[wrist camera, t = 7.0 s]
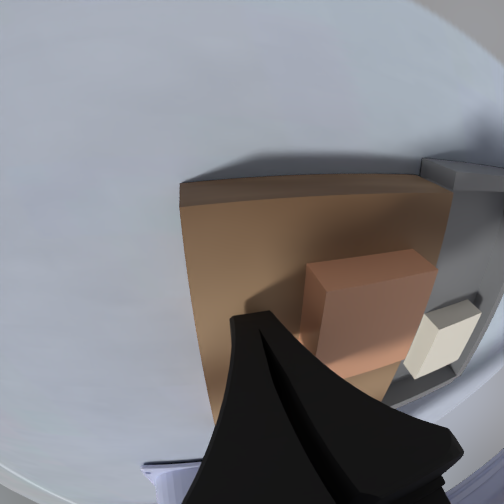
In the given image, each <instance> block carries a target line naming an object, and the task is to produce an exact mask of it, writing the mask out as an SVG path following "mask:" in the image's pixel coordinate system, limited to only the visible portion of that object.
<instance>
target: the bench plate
mask: <svg viewBox="0 0 504 504" xmlns="http://www.w3.org/2000/svg"><path fill="white" fill-rule="evenodd" d="M452 199H453V192H451V191H449V190H447V189H445V188H443V187H441V186H439V185H437V184H435V183H432V182H430V181H428V180H426V179H424V178H422V177H420V176H417V175H410V174H310V175H283V176H264V177H248V178H234V179H221V180H209V181H198V182H188V183H180V201H179V208H180V218H181V226H182V235H183V243H184V251H185V259H186V267H187V274H188V281H189V288H190V295H191V301H192V308H193V314H194V320H195V326H196V332H197V338H198V344H199V349H200V355H201V360H202V365H203V371H204V376H205V381H206V386H207V391H208V396H209V400H210V405H211V410H212V414H213V419H214V423H215V425H216V422H217V419H218V415H219V412H220V408H221V405H222V401H223V397H224V392H225V388H226V382H227V377H228V372H229V365H230V356H231V333H230V321H229V319H230V318H231V317H232V316H234V315H241V314H248V313H255V312H261V311H268V310H270V311H271V312H272V313H273V314H274V315H275V316H276V317H277V318H278V319H279V321H280V322H281V323H282V324H283V325H284V326H285V327H286V328H287V329H288V330H289V331H290V333H291V334H292V335H293V336H294V337H295V338H296V339H297V340H298V341H299V332H300V324H301V315H302V306H303V296H304V286H305V276H306V265H307V263H315V262H322V261H330V260H337V259H344V258H352V257H359V256H366V255H373V254H380V253H387V252H394V251H401V250H408V249H414V250H415V251H416V252H418V253H419V254H420V255H421V256H423V257H424V258H425V259H426V260H427V261H429V262H430V263H431V264H432V265H434V266H435V267H436V264H437V261H438V258H439V254H440V250H441V247H442V243H443V239H444V235H445V231H446V227H447V222H448V218H449V213H450V209H451V204H452ZM400 362H401V361H398V362H395V363H393V364H390V365H387V366H384V367H381V368H378V369H375V370H372V371H368V372H365V373H362V374H359V375H355V376H352V377H348V378H345V379H344V380H346V381H347V382H349V383H350V384H352V385H353V386H355V387H356V388H358V389H359V390H361V391H362V392H364V393H366V394H367V395H369V396H371V397H373V398H374V399H376V400H378V401H380V402H381V401H382V399H383V397H384V396H385V394H386V392H387V390H388V388H389V386H390V383H391V381H392V379H393V377H394V375H395V373H396V371H397V369H398V367H399V364H400Z"/></svg>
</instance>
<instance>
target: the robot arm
mask: <svg viewBox="0 0 504 504" xmlns="http://www.w3.org/2000/svg"><path fill="white" fill-rule="evenodd" d="M229 321H230V333H231V356H230V365H229V372H228V377H227V382H226V388H225V392H224V397H223V401H222V405H221V408H220V412H219V415H218V419H217V422H216V425H215V428H214V431H213V434H212V437H211V440H210V443H209V445H208V448H207V450H206V453H205V455H204V457H203V460H202V462H193V463H181V464H164V465H142V466H141V467H140V470H141V472H142V473H143V474H144V475H145V476H146V477H147V478H148V479H149V480H150V481H151V482H152V484H153V485H154V486H155V487H156V497H157V504H504V448H503V449H502V450H501V451H500V452H499V453H498V454H497V455H495V456H494V457H493V458H492V459H491V460H489V461H488V462H487V463H486V464H484V465H483V466H482V467H481V468H479V469H478V470H477V471H475V472H474V473H473V474H472V475H470V476H469V477H467V478H466V479H465V480H463V481H462V482H460V483H459V484H458V485H456V486H455V487H453V488H452V489H450V490H449V491H447V492H446V493H445V492H444V490H443V488H442V486H443V485H444V484H445V481H444V479H443V477H442V476H441V475H442V474H443V473H444V472H446V471H447V470H448V469H449V468H450V467H452V466H453V465H454V464H455V463H456V462H457V461H458V460H459V459H460V458H461V457H462V456H463V454H464V451H463V449H462V447H461V446H460V444H459V442H458V441H457V439H456V438H455V436H454V435H453V434H452V432H451V431H450V430H449V429H448V428H445V427H442V426H439V425H436V424H432V423H429V422H426V421H423V420H420V419H417V418H415V417H412V416H410V415H407V414H405V413H403V412H400V411H398V410H396V409H394V408H392V407H390V406H388V405H386V404H384V403H382V402H380V401H378V400H376V399H374V398H373V397H371V396H369V395H367V394H366V393H364V392H362V391H361V390H359V389H358V388H356V387H355V386H353V385H352V384H350V383H349V382H347V381H346V380H344V379H343V378H341V377H340V376H339V375H337V374H336V373H335V372H334V371H332V370H331V369H330V368H329V367H327V366H326V365H325V364H324V363H322V362H321V361H320V360H319V359H318V358H317V357H315V356H314V355H313V354H312V353H311V352H310V351H309V350H308V349H307V348H306V347H305V346H304V345H302V344H301V343H300V342H299V341H298V340H297V339H296V338H295V337H294V336H293V335H292V334H291V333H290V331H289V330H288V329H287V328H286V327H285V326H284V325H283V324H282V323H281V322H280V321H279V319H278V318H277V317H276V316H275V315H274V314H273V313H272V312H271V311H270V310H268V311H261V312H255V313H248V314H241V315H234V316H232V317H231V318H230V319H229Z"/></svg>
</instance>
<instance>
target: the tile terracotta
mask: <svg viewBox="0 0 504 504" xmlns="http://www.w3.org/2000/svg"><path fill="white" fill-rule="evenodd" d="M437 273H438V269H437V268H436V267H435V266H434V265H432V264H431V263H430V262H429V261H427V260H426V259H425V258H424V257H423V256H421V255H420V254H419V253H418V252H416V251H415V250H414V249H408V250H401V251H394V252H387V253H380V254H373V255H366V256H359V257H352V258H344V259H337V260H330V261H322V262H315V263H307V265H306V276H305V286H304V296H303V306H302V315H301V324H300V332H299V342H300V343H301V344H302V345H304V346H305V347H306V348H307V349H308V350H309V351H310V352H311V353H312V354H313V355H314V356H315V357H317V358H318V359H319V360H320V361H321V362H322V363H324V364H325V365H326V366H327V367H329V368H330V369H331V370H332V371H334V372H335V373H336V374H337V375H339V376H340V377H341V378H343V379H345V378H348V377H352V376H355V375H359V374H362V373H365V372H368V371H372V370H375V369H378V368H381V367H384V366H387V365H390V364H393V363H395V362H398V361H401V360H404V359H405V358H406V356H407V353H408V351H409V349H410V346H411V344H412V342H413V339H414V337H415V335H416V332H417V330H418V327H419V325H420V322H421V319H422V317H423V314H424V311H425V309H426V306H427V303H428V300H429V298H430V295H431V292H432V289H433V286H434V283H435V280H436V276H437Z"/></svg>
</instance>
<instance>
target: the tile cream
mask: <svg viewBox="0 0 504 504" xmlns="http://www.w3.org/2000/svg"><path fill="white" fill-rule="evenodd" d="M481 313H482V312H481V311H480V310H479V309H478V308H477V307H476V306H474V305H473V304H472V303H471V302H470V301H469V300H468V299H467V300H464V301H461V302H458V303H455V304H453V305H450V306H447V307H444V308H441V309H437V310H434V311H431V312H428V313H425V314H424V315H423V318H422V321H421V323H420V326H419V328H418V331H417V333H416V336H415V338H414V340H413V343H412V345H411V347H410V350H409V352H408V354H407V356H406V359H405V361H404V363H403V364H404V365H405V367H406V368H407V370H408V371H409V372H410V374H411V375H412V376H413V378H414V379H417V378H419V377H422V376H424V375H426V374H428V373H431V372H433V371H435V370H437V369H440V368H442V367H444V366H446V365H448V364H450V363H452V362H454V361H456V360H458V358H459V357H460V355H461V353H462V351H463V349H464V347H465V346H466V344H467V342H468V340H469V338H470V336H471V334H472V332H473V330H474V328H475V326H476V324H477V322H478V320H479V318H480V315H481Z"/></svg>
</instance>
